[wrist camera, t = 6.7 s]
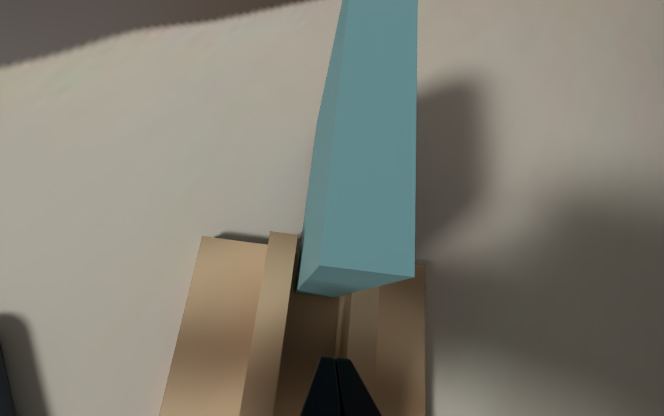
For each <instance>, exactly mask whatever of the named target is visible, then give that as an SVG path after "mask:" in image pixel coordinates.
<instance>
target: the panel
mask: <svg viewBox="0 0 664 416" xmlns="http://www.w3.org/2000/svg"><path fill="white" fill-rule="evenodd" d="M417 8H418V0H343V1H342V5H341V10H340V15H339V20H338V25H337V29H336V34H335V39H334V44H333V48H332V53H331V58H330V63H329V68H328V72H327V77H326V82H325V87H324V91H323V96H322V101H321V106H320V111H319V115H318V120H317V126H316V133H315V141H314V148H313V156H312V163H311V171H310V178H309V186H308V193H307V201H306V208H305V216H304V223H303V231H302V238H301V246H300V253H299V261H298V268H297V276H296V283H295V291H294V293H296V294H305V295H314V296H322V297H331V298H335V297H338V296H342V295H346V294H350V293H354V292H358V291H362V290H366V289H370V288H374V287H378V286H382V285H386V284H390V283H393V282H397V281H401V280H405V279H409V278H413V277H415V195H416V102H417Z"/></svg>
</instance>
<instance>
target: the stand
mask: <svg viewBox="0 0 664 416" xmlns="http://www.w3.org/2000/svg"><path fill="white" fill-rule="evenodd" d="M297 237H298V235H294V234H287V233H279V232H272V231H270V235H269V241H268V245H266V244H259V243H251V242H243V241H236V240H228V239H220V238H213V237H205V236H202V239H201V243H200V247H199V252H198V256H197V260H196V264H195V268H194V272H193V276H192V281H191V285H190V289H189V293H188V297H187V301H186V305H185V310H184V314H183V318H182V322H181V326H180V330H179V335H178V339H177V343H176V347H175V351H174V355H173V359H172V364H171V368H170V372H169V376H168V380H167V384H166V388H165V393H164V397H163V401H162V405H161V409H160V413H159V416H299V415H300V412H301V410H302V407H303V404H304V401H305V398H306V395H307V392H308V390H309V387H310V384H311V381H312V378H313V375H314V372H315V370H316V367H317V364H318V361H319V358H320V357H321V356H327V357H334V359H336V358H348V359H350V360H351V361H352V363H353V365H354V366H355V368H356V370H357V372H358V374H359V375H360V377H361V379H362V381H363V382H364V384H365V386H366V388H367V390H368V391H369V393H370V395H371V397H372V399H373V400H374V402H375V404H376V406H377V407H378V409H379V411H380V413H381V415H382V416H425V265H421V264H415V277H413V278H409V279H405V280H401V281H397V282H393V283H390V284H386V285H382V286H378V287H374V288H370V289H366V290H362V291H358V292H354V293H350V294H346V295H342V296H338V297H335V298H331V297H322V296H314V295H305V294H296V293H294V291H295V283H296V276H297V268H298V261H299V253H300V249H297V248H296V244H297Z"/></svg>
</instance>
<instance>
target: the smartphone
mask: <svg viewBox="0 0 664 416" xmlns="http://www.w3.org/2000/svg"><path fill="white" fill-rule="evenodd" d="M0 416H15V411H14V407H13V402H12V398H11V393H10V389H9V384H8V379H7V375H6V370H5V366H4V361H3V357H2V352H1V348H0Z"/></svg>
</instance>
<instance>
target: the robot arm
mask: <svg viewBox="0 0 664 416" xmlns="http://www.w3.org/2000/svg"><path fill="white" fill-rule="evenodd" d="M299 416H382V415H381V413H380V411H379V409H378V407H377V406H376V404H375V402H374V400H373V399H372V397H371V395H370V393H369V391H368V390H367V388H366V386H365V384H364V382H363V381H362V379H361V377H360V375H359V374H358V372H357V370H356V368H355V366H354V365H353V363H352V361H351V360H350V359H348V358H336V359H334V357H327V356H321V357H320V358H319V361H318V364H317V367H316V370H315V372H314V375H313V378H312V381H311V384H310V387H309V390H308V392H307V395H306V398H305V401H304V404H303V407H302V410H301V412H300V415H299Z"/></svg>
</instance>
